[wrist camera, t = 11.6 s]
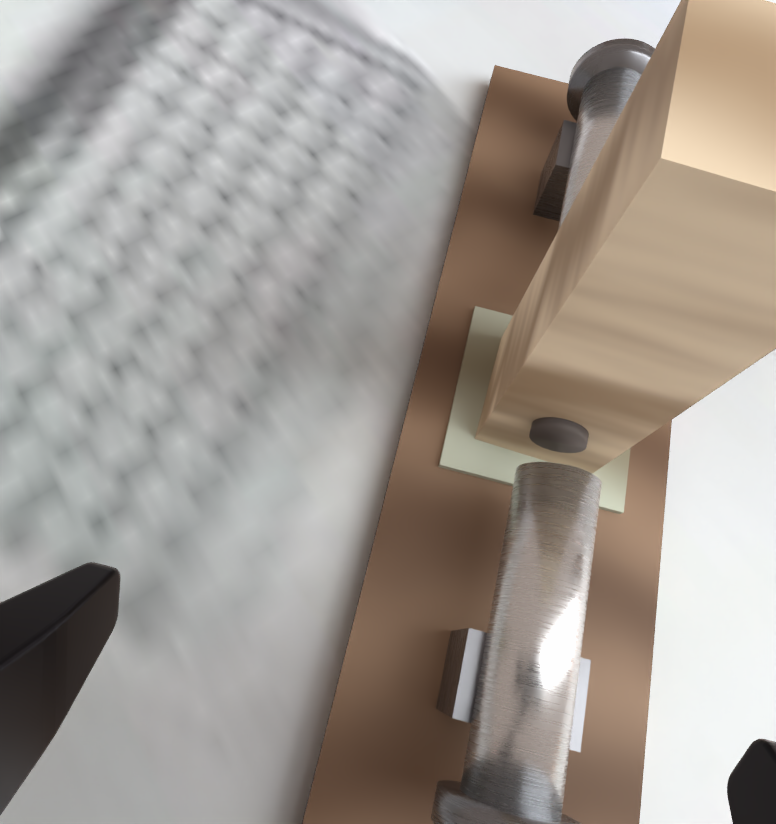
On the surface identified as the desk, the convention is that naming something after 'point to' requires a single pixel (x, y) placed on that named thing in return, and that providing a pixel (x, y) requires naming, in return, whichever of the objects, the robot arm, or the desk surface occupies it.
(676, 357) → the tan wood post
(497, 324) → the base board
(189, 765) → the desk surface
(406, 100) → the desk surface
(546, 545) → the shafts
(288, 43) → the desk surface
